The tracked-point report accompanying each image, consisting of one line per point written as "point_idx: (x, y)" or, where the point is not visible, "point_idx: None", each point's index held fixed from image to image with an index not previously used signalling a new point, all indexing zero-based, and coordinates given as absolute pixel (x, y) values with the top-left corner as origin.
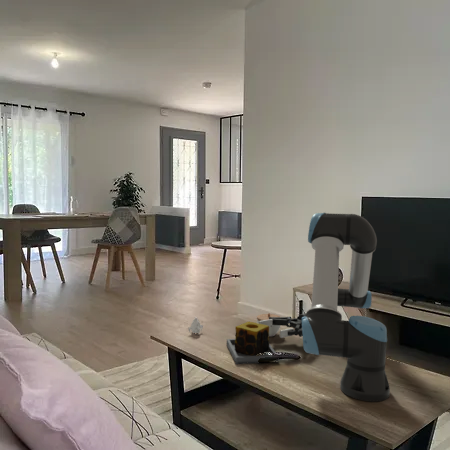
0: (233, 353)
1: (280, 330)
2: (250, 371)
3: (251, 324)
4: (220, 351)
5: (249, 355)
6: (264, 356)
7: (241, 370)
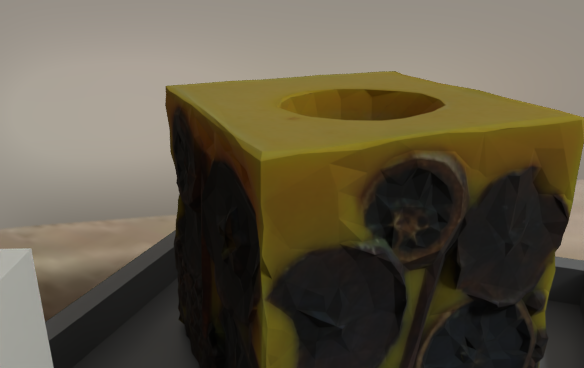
0: None
1: (14, 251)
2: (68, 258)
3: (437, 111)
4: None
5: None
6: (73, 303)
7: (119, 240)
